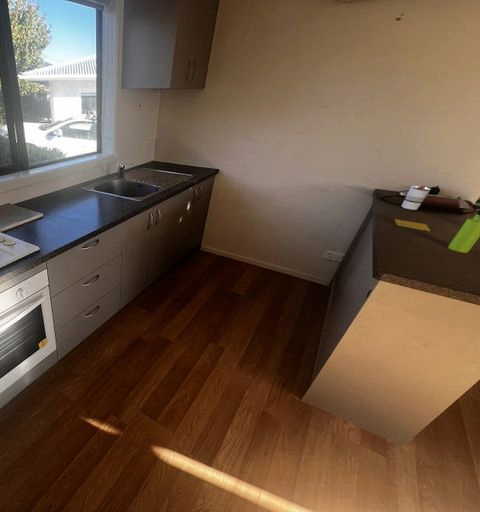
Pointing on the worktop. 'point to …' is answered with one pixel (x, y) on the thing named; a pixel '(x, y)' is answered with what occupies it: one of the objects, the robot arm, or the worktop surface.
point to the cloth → (412, 225)
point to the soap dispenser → (467, 235)
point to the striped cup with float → (415, 197)
